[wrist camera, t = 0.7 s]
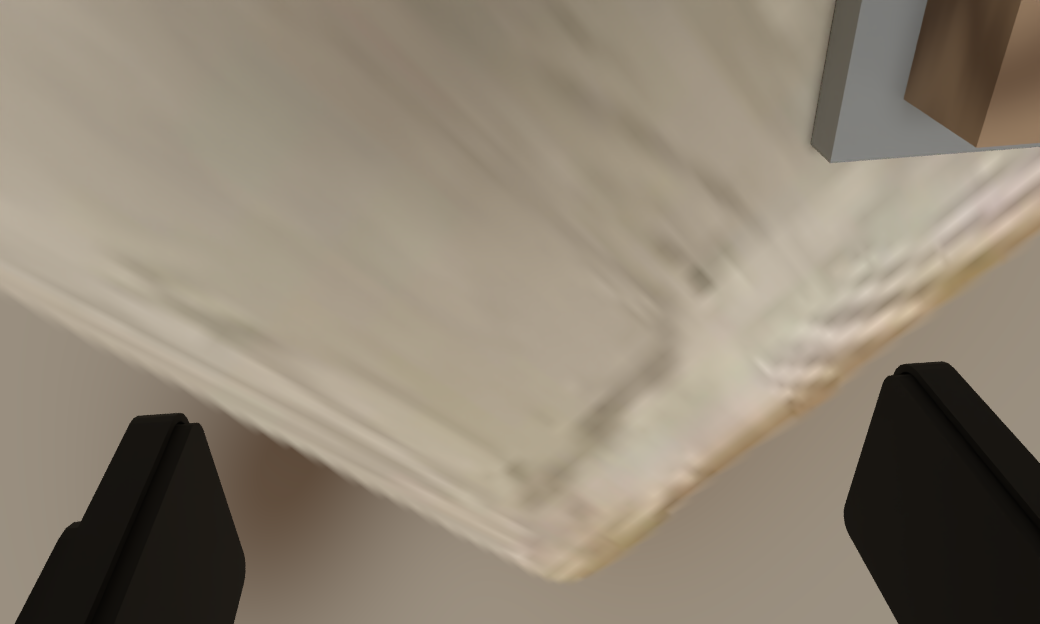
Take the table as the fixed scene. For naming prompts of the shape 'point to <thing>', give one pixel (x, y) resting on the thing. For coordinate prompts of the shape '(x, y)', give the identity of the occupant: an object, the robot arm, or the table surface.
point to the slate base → (877, 88)
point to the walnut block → (980, 70)
